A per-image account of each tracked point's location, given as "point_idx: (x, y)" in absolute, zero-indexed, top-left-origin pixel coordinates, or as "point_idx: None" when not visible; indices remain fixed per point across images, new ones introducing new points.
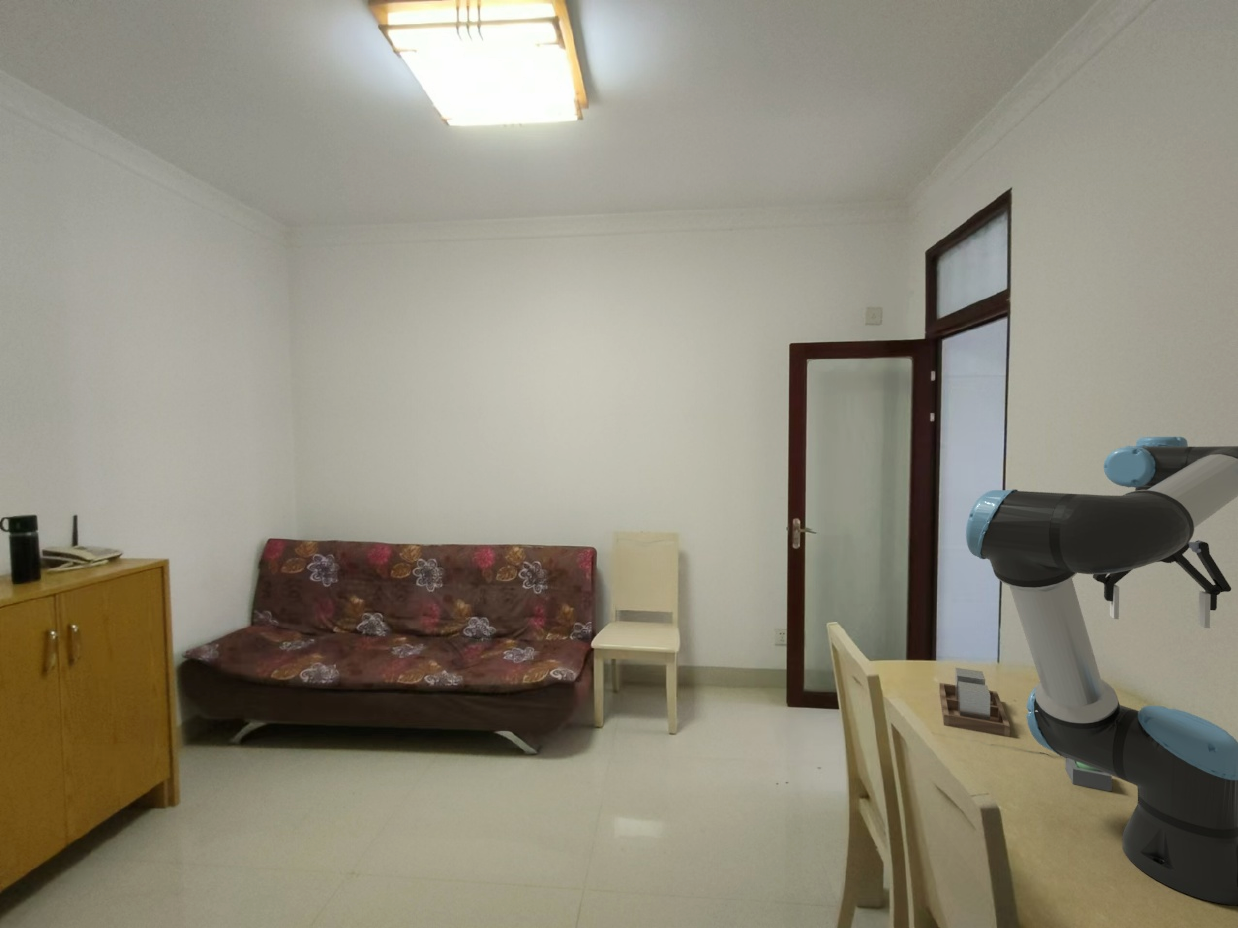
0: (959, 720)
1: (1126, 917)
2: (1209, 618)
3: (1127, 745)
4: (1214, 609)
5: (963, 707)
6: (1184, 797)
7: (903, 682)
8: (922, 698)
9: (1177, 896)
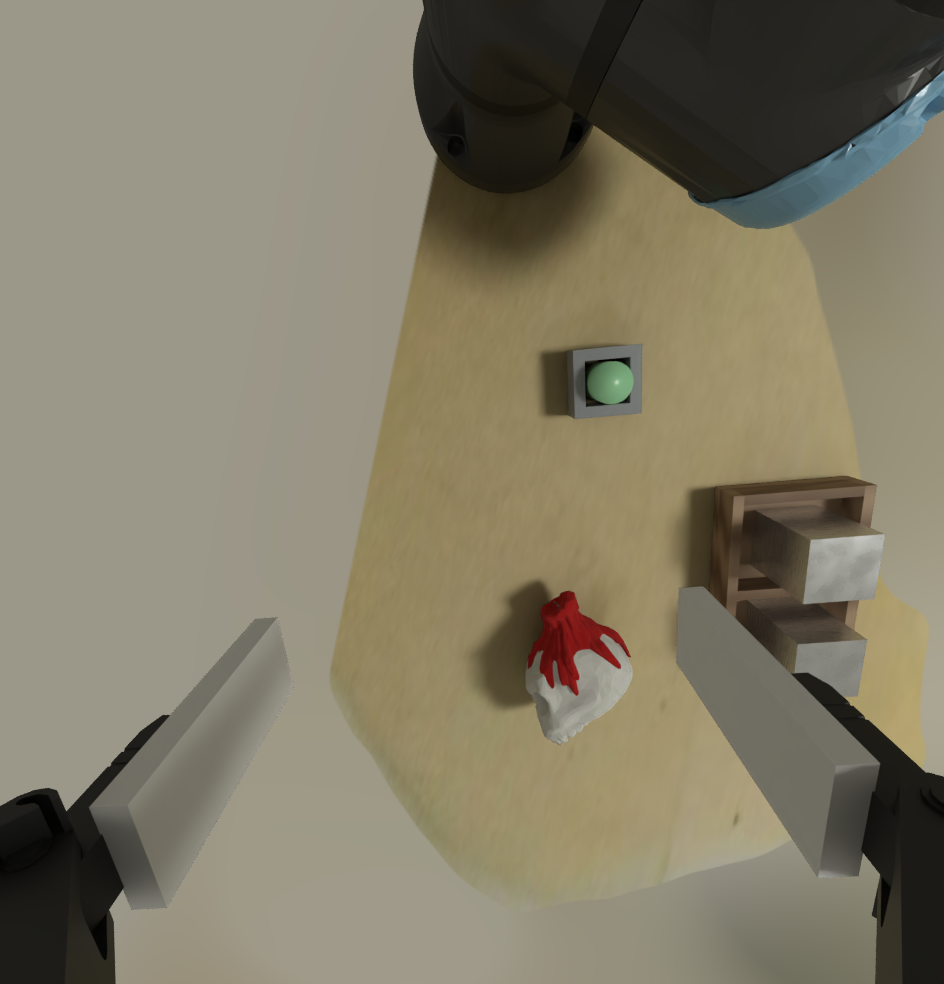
0: (835, 485)
1: None
2: (225, 653)
3: None
4: (161, 720)
5: (840, 518)
6: None
7: (893, 693)
8: (864, 622)
9: None
